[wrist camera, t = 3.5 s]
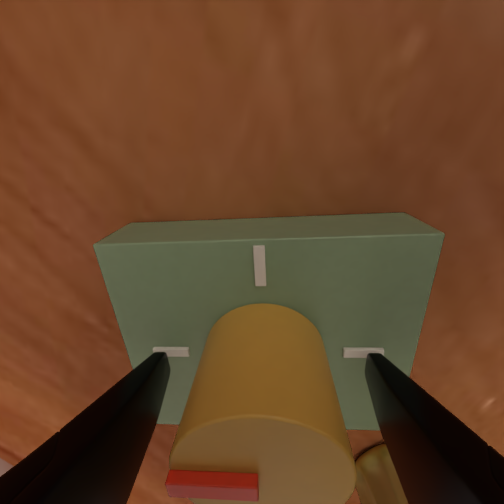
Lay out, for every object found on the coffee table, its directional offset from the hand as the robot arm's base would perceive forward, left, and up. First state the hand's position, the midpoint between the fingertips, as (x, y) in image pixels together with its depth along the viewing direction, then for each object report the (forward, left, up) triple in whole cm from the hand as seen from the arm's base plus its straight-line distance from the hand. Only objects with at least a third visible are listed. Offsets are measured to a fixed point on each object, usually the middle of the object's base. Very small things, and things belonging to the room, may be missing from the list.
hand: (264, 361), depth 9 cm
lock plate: (0, 0, -3) cm, 3 cm away
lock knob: (0, 0, 0) cm, 0 cm away
